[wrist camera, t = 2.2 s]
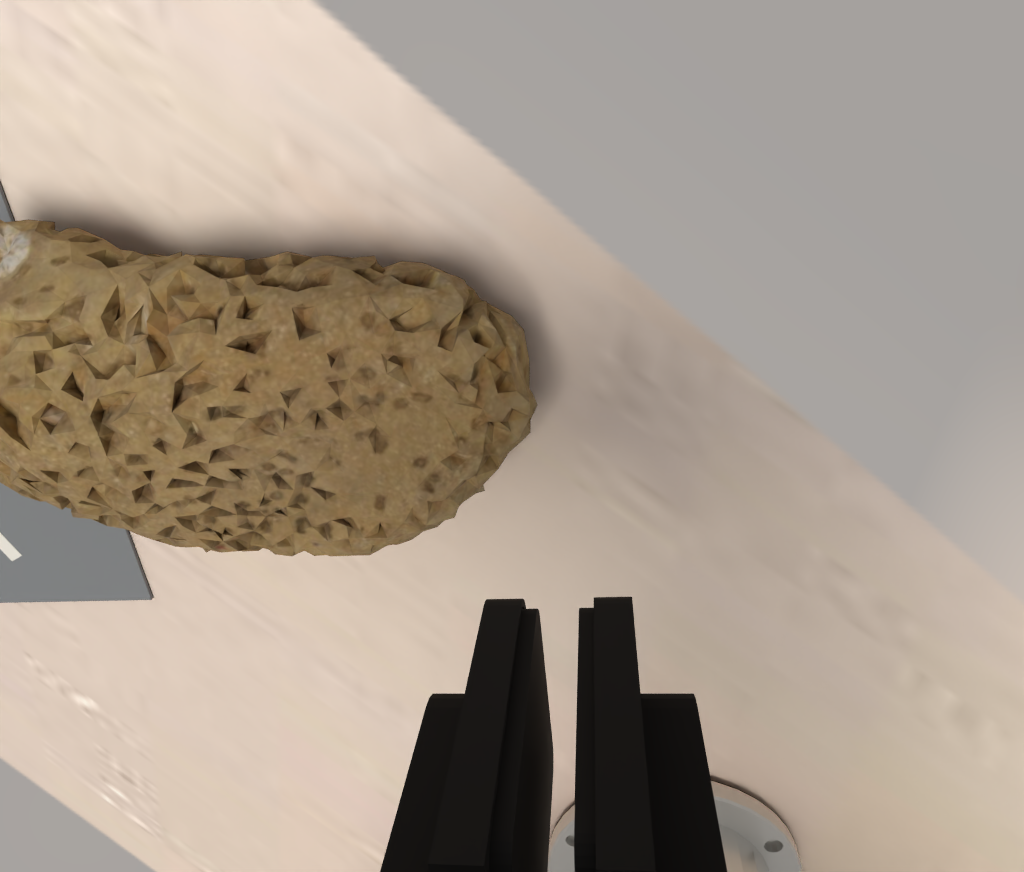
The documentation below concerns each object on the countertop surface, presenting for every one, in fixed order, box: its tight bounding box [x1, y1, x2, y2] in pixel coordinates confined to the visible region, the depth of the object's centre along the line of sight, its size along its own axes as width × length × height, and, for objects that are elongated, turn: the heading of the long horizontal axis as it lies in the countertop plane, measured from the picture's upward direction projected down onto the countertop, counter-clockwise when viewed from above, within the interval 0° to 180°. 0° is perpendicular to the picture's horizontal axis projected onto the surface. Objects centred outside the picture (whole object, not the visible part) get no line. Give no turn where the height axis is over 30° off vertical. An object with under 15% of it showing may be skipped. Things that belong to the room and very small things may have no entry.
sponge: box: [0, 220, 537, 556], centre depth 24 cm, size 13×8×20 cm
